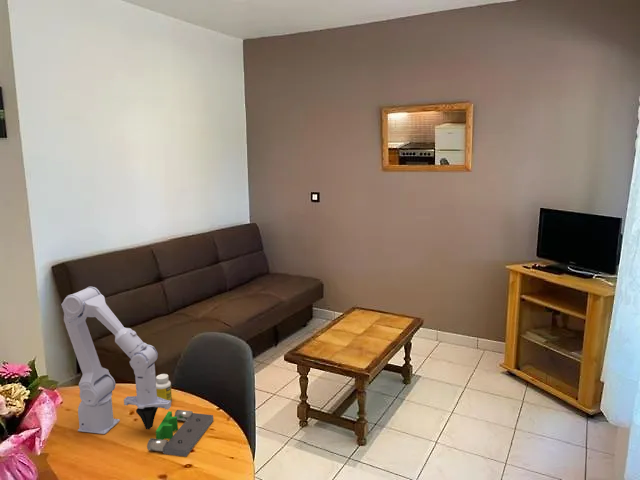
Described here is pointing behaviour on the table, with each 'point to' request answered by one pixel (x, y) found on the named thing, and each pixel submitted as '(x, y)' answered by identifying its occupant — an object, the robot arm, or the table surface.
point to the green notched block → (167, 427)
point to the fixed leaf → (183, 434)
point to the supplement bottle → (163, 387)
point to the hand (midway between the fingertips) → (149, 427)
